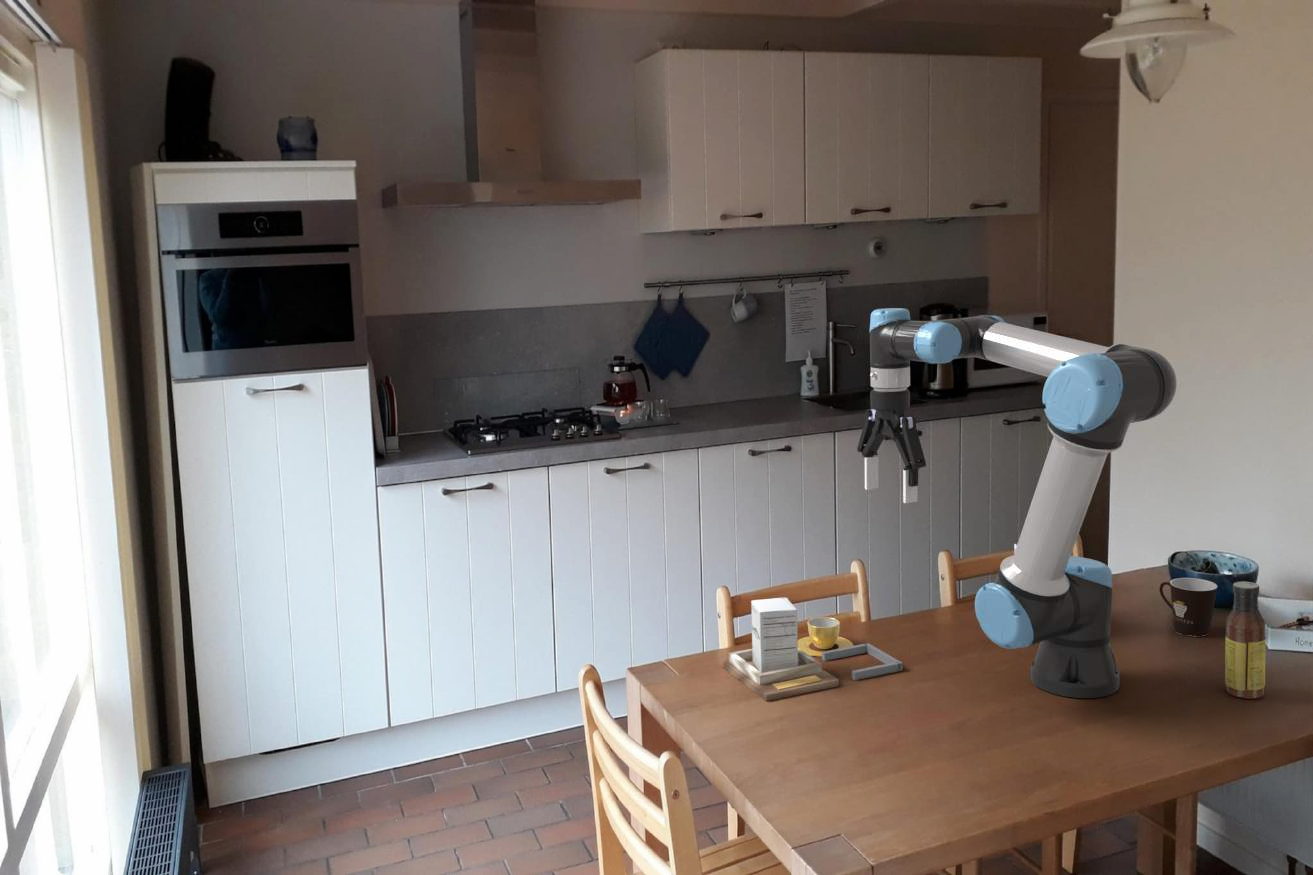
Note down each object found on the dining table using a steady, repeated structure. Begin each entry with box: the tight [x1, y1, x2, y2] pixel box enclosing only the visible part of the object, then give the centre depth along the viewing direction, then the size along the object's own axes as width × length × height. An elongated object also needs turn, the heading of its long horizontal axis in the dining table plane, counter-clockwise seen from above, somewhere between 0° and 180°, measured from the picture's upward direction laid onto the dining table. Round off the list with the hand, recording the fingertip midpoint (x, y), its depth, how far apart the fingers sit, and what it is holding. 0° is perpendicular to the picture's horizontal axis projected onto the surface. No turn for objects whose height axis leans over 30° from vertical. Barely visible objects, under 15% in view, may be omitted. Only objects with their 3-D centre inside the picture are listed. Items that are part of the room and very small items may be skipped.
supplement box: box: [750, 597, 799, 673], centre depth 214 cm, size 7×7×13 cm
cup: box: [798, 616, 855, 658], centre depth 228 cm, size 12×12×5 cm
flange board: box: [722, 648, 840, 702], centre depth 213 cm, size 18×15×3 cm
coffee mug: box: [1159, 577, 1218, 636], centre depth 229 cm, size 12×9×10 cm
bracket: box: [821, 642, 904, 681], centre depth 217 cm, size 12×10×2 cm
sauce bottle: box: [1224, 580, 1267, 700], centre depth 196 cm, size 7×6×20 cm
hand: (890, 495), depth 223 cm, fingers open, 13 cm apart
